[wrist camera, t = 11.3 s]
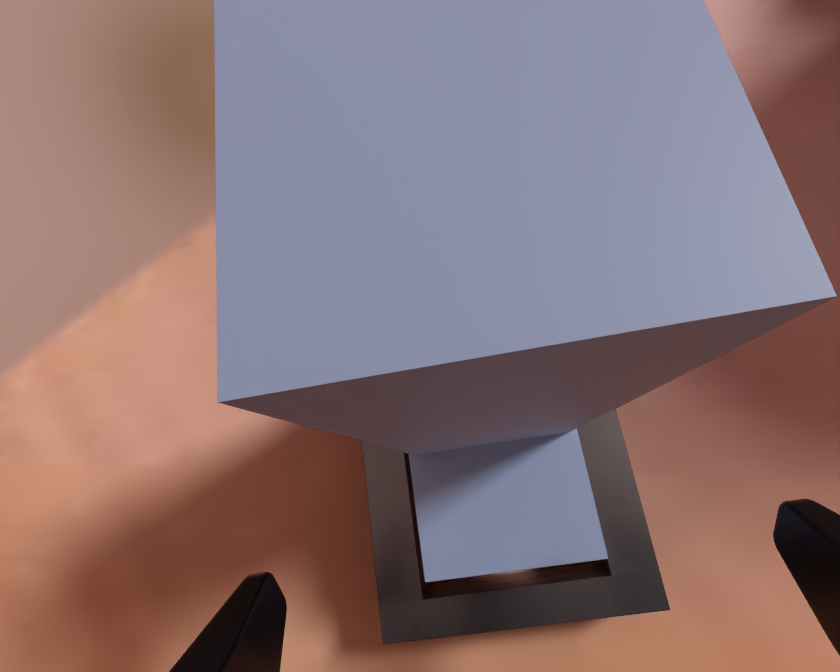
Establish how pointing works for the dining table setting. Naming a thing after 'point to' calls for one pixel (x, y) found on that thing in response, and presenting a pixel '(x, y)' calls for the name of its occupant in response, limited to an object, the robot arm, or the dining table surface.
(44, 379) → the dining table surface
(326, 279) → the blue-gray inverted t block
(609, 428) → the rail
